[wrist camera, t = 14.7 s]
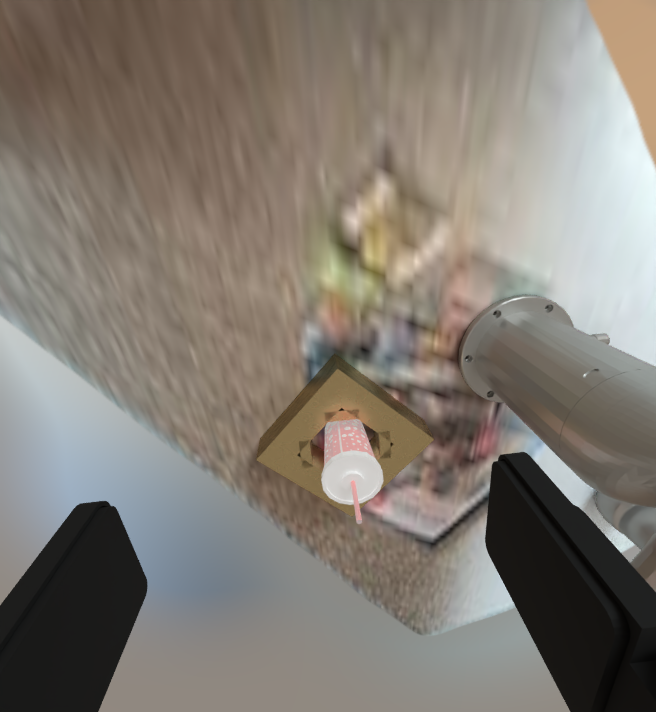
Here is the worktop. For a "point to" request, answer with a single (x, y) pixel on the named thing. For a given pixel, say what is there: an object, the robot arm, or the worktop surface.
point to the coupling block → (337, 403)
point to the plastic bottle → (628, 518)
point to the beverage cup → (350, 465)
